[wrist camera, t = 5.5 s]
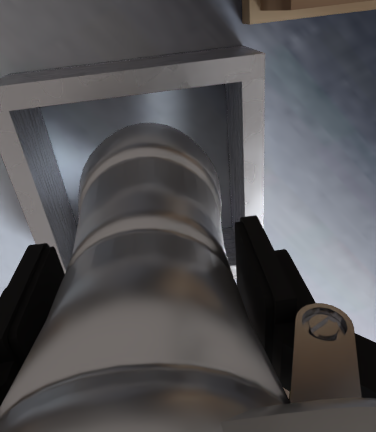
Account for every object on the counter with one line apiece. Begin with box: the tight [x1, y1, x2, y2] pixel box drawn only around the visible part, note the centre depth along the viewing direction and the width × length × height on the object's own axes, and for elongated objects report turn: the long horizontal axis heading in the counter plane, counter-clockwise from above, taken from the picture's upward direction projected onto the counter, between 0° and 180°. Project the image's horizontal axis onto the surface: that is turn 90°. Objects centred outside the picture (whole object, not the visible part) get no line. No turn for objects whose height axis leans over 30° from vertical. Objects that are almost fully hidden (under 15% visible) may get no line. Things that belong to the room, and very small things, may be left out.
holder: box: [0, 46, 265, 279], centre depth 19 cm, size 12×12×4 cm
